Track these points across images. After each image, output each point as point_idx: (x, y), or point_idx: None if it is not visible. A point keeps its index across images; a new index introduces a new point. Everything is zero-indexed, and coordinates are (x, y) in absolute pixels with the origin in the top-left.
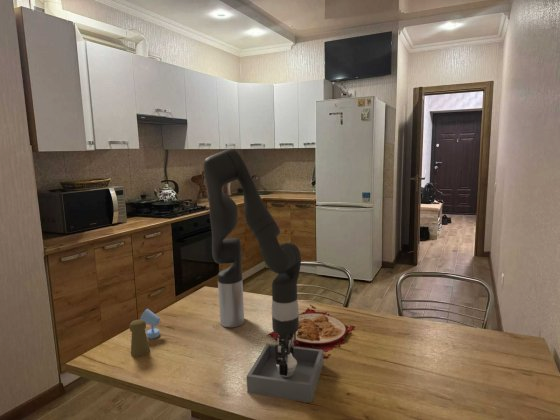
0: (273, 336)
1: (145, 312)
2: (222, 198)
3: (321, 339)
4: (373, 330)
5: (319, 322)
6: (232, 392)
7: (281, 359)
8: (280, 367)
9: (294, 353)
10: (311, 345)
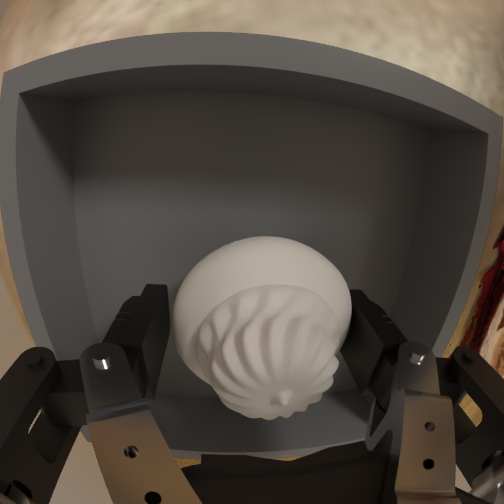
0: None
1: None
2: None
3: (500, 331)
4: (479, 414)
5: None
6: (70, 19)
7: (83, 405)
8: (107, 336)
9: (421, 310)
10: (485, 314)
